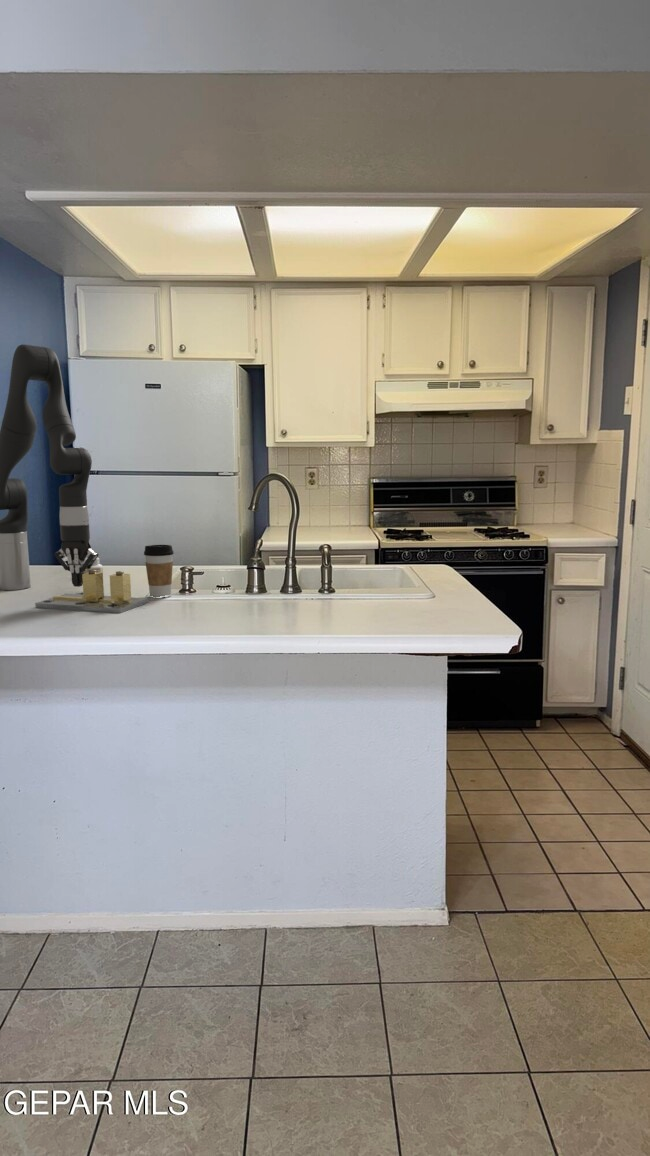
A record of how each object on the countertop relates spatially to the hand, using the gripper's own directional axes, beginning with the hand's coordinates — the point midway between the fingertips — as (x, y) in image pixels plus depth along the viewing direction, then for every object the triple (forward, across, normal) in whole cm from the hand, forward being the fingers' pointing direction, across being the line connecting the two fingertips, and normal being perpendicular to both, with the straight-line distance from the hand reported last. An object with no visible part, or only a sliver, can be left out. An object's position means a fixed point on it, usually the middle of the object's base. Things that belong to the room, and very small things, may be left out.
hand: (78, 586), depth 210 cm
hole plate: (+5, +4, 0) cm, 6 cm away
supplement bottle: (+5, -6, +16) cm, 18 cm away
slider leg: (+4, +5, -1) cm, 6 cm away
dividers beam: (+4, +4, -1) cm, 6 cm away
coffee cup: (+5, +16, +16) cm, 23 cm away
